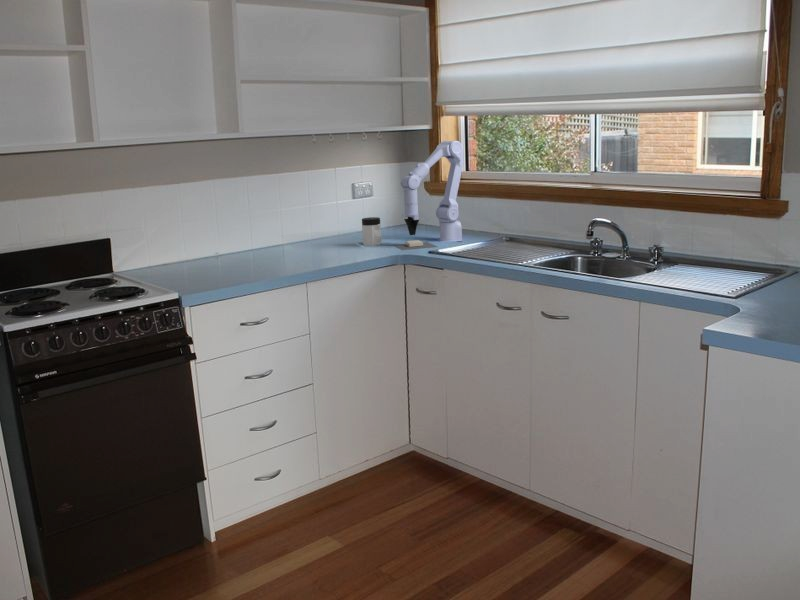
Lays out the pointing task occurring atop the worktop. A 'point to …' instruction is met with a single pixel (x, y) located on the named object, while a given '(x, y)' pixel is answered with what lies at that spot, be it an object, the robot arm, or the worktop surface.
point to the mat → (405, 247)
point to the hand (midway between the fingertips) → (412, 234)
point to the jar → (371, 231)
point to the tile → (414, 243)
